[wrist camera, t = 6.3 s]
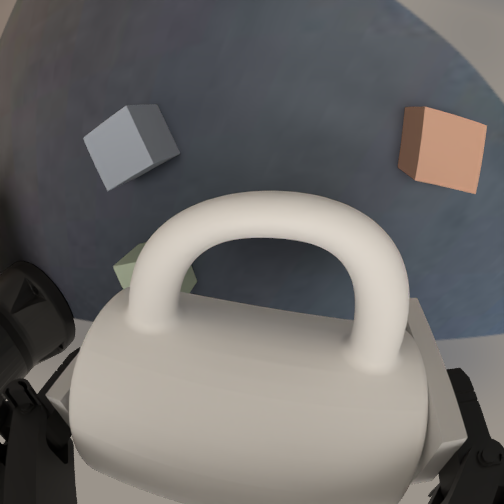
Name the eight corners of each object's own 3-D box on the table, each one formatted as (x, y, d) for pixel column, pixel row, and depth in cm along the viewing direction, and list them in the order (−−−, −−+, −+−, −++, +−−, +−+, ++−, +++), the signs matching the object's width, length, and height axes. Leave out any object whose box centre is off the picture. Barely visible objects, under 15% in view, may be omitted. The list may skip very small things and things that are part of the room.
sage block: (156, 286, 32) (134, 312, 28) (139, 243, 31) (112, 266, 26) (197, 281, 31) (178, 309, 27) (180, 235, 29) (157, 258, 25)
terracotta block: (397, 167, 23) (414, 180, 18) (404, 107, 20) (424, 106, 16) (450, 178, 22) (475, 194, 17) (458, 121, 20) (486, 125, 15)
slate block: (138, 176, 27) (107, 191, 23) (116, 131, 26) (83, 138, 21) (180, 153, 26) (153, 163, 21) (157, 104, 24) (126, 105, 20)
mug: (346, 407, 15) (344, 542, 8) (168, 376, 16) (110, 495, 9) (426, 188, 10) (569, 327, 3) (155, 150, 11) (-30, 229, 4)
